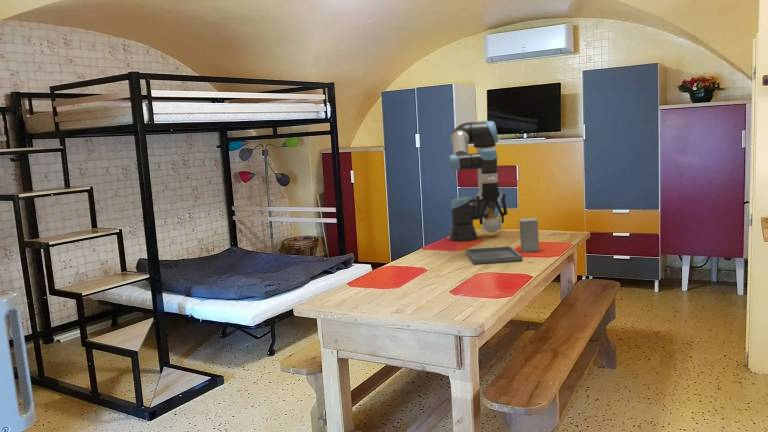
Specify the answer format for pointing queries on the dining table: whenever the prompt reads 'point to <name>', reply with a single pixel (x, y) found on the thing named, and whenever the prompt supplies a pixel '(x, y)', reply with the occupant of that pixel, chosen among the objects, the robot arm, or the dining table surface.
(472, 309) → the dining table surface
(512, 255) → the tray
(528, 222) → the skincare box
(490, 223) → the perfume bottle
